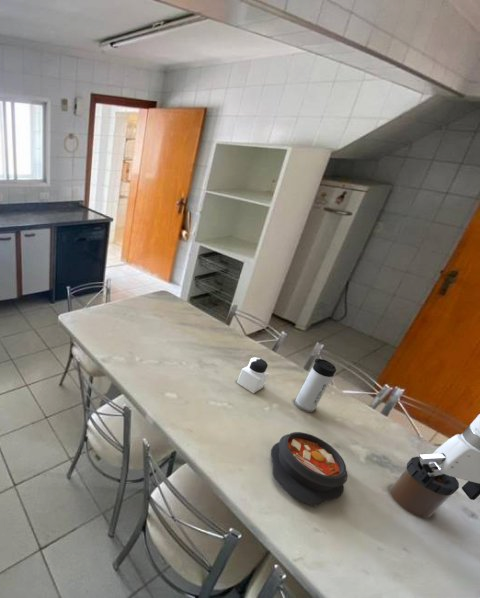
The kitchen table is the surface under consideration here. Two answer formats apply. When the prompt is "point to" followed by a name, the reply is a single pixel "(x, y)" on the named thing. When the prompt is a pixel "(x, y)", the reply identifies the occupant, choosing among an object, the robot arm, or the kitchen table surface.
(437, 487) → the black segmented ring
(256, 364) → the medicine bottle
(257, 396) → the kitchen table surface
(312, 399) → the travel mug
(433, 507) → the brown cylinder
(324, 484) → the casserole
